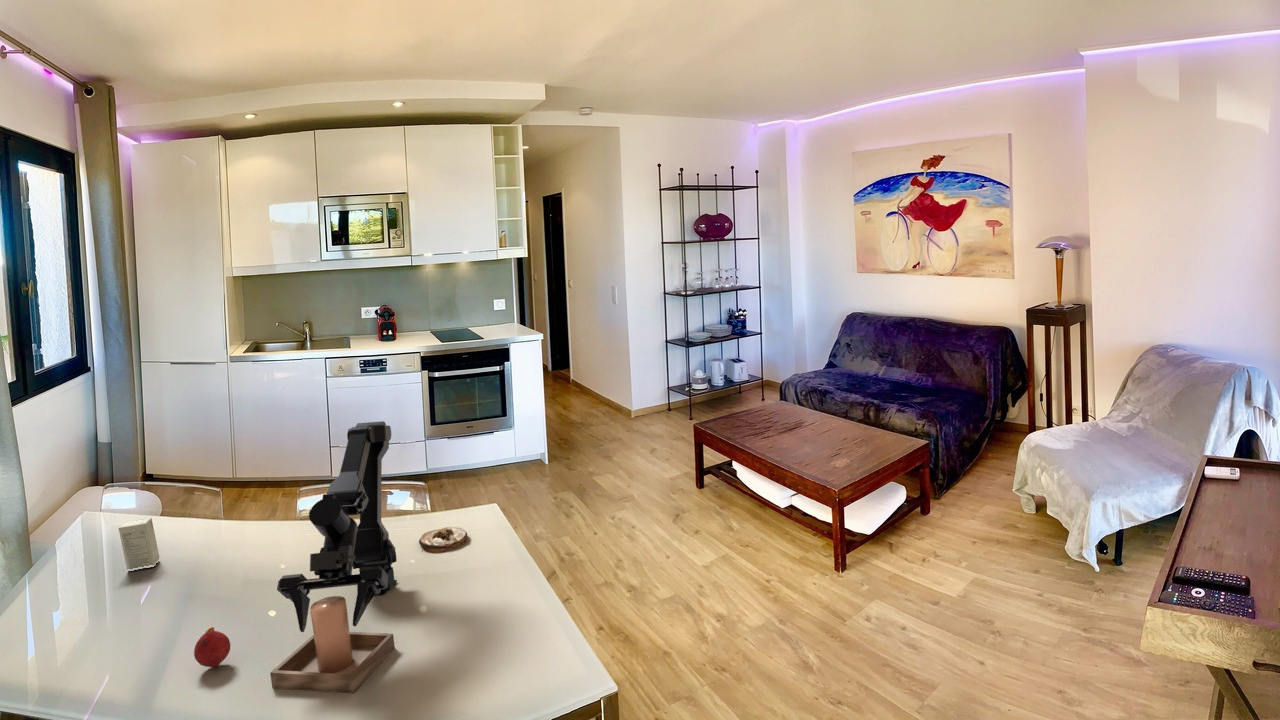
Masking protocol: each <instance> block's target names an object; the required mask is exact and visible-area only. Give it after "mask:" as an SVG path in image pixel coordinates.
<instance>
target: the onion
mask: <svg viewBox="0 0 1280 720" xmlns="http://www.w3.org/2000/svg"><path fill="white" fill-rule="evenodd" d="M230 650H231V641H230V638H229V637H228V636H227V635H226V634H225V633H223V632H221V631H218V630H215V627H213V626H210V627H208V628H207V629H206V630H205V633H203V635H201V637H199V639H198V640H197V641H196V644H195V646H194V649H193V656H194V659H195V661H196V662H198V664H199V665H200V666H204V667H206V668H217V667H219V666H220V664H221V663H222V662H224V660H226V659H227V657H228V655H229V653H230ZM218 665H219V666H218ZM216 666H217V667H216Z"/></svg>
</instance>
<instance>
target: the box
mask: <svg viewBox="0 0 1280 720" xmlns="http://www.w3.org/2000/svg"><path fill="white" fill-rule="evenodd" d="M350 639H351V647H352V656H353V662H352V663H351V665H350V666H348V667H347V668H345V669H344V670H341V671H339V672H336V673H321V672H319V670H318V664H317V656H316V649H315V641H314V634H312V635H311V637H309V638H308V639H307V640H306V641H305V642H304V643H302V644H301V645H300V646H299V647H298V648H296V649H295V650H294V651H293V652H292V653H291V654H290V655H289V656H287V657H286V658H285V659H284V660H283V661H282V662H281V663H280V664H278V665H277V666H276V667H275V668H274V669H272V670H271V671H270V675H269V676H270V681H271V688H272V689H279V690H280V689H282V690H283V689H285V690H299V691H315V692H330V693H331V692H332V693H333V692H334V693H346V694H355V693H356V691H358V689H360V687H361V686H362V685H363V684H364V683H365V682H366V680H367V679H368V678H369V677H371V676H372V674H373V673H374V671H376V669H377V668H378V667H379V666H380V665H381V664H382V663H383V662H384V661H385V659H386V658H388V656H389V655H390V654H391V653H392V652H393V651H394V650H395V648H396V647H395V638H394V633H382V632H365V631H364V632H362V631H350Z"/></svg>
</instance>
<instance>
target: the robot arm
mask: <svg viewBox="0 0 1280 720" xmlns="http://www.w3.org/2000/svg"><path fill="white" fill-rule="evenodd" d="M346 435H347V443H346V447H345V452H344V455H343V458H342V459H343V460H342V463H341V467H340V472H339V475H338V477H336V478H335V479H334V480H333V481H332V482H331V483H330V484H329V487H328V490H327V491H326V492H327V493H323V494H322V499H320V500H318V501H317V502H316V503H314V504H313V505H312V507H311V509H310V510H309V512H308V518H309V521H310V522H311V524H313V526H314V527H315V529H317V531H318V532H319V534H321V535H322V536H323V537H324V539H323V547H321V548H320V551H319V552H314V553H310V556H309V561H310V562H309V572H313V574H314V575H315V576H318V578H310V579H307V577H306V576H305V575H304V574H303V573H297V574H288V575H287V574H286V575H282V577H281V578H280V579H279V580H278V581H277V586H276V591H277V592H279V593H280V594H281V595H282V596H283V597H284V598H285V599H289V600H290V602H292V603H293V605H294V608H295V613H296V618H297V622H298V628H299V631H300V632H301V633H304V632H305V630H306V627H307V622H308V614H309V610H310V609H309V608H310V602H311V601H310V600H311V598H309V594H310V592H311V591H312V590H320V589H321V590H322V589H329V588H338V587H340V588H341V587H348V586H350V587H351V586H357V587H356V589H357V592H356V593H357V594H356V599H355V603H354V605H355V606H354V610H353V616H352V626H353V627H357V626H358V624H359V622H360V620H361V618H362V616H363V614H364V612H365V611H366V609H367V607H368V606H369V604H370V603H371V601H372V600H373V599H374V598H375V596H383V595H385V594H386V593H387V592H388V591H389V590H390V589H392V587H393V586H395V585H396V584H397V582H398V581H397V580H398V579H395V573H394V572H395V571H394V567H392V564H394V563H396V562H397V561H398V560H397V559H398V558H397V552H396V547H395V546H394V544H393V543H392V541H391V539H389V537H390V536H389V535H390V534H389V531H388V530H387V529H386V527H385V525H384V524H383V522H382V469H383V468H382V463H383V462H382V460H383V458H384V457H385V455H386V454H387V452H388V450H389V449H390V441H391V439H392V429H391V426H390V425H387V424H386V422H385V421H372V422H371V421H370V422H369V421H368V422H358V423H356V425H355V426H352V427H351V428H348V429H347V433H346ZM358 515H359V524H358V523H357V522H356V520H355V519H354V518H351V517H350V516H358ZM356 569H359V570H358V571H359V573H357V574H356V573H355V574H352V573H353V570H356Z"/></svg>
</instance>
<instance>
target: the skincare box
mask: <svg viewBox="0 0 1280 720" xmlns="http://www.w3.org/2000/svg"><path fill="white" fill-rule="evenodd" d="M152 519H153V518H152V517H149V518H144V519H137V520H136V519H135V520H130V521H125V522H123V523H122V524H121V525H120V526H119V527H118V532H119V537H120V541H121V547H122V551H123V556H124V561H125V564H126V565H125V566H126V570H127V569H133V568H138V567H144V566H149V565H155V563H156V562H157V561H158V560H159V558H160V553H159V548H158V544H157V539H156V534H155V528H154V523H153V520H152Z"/></svg>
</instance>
